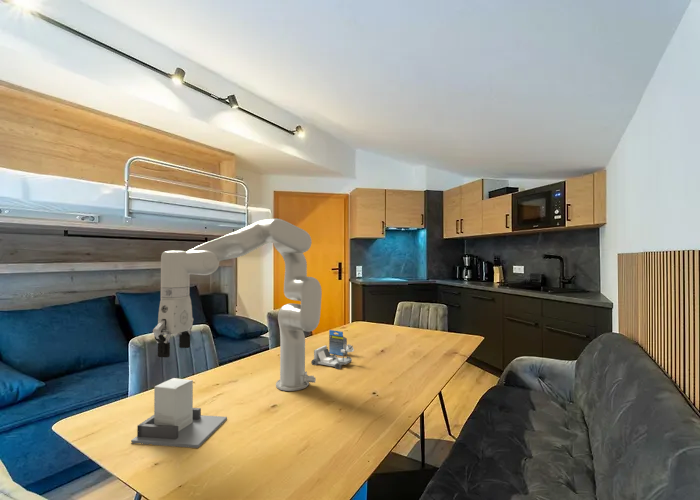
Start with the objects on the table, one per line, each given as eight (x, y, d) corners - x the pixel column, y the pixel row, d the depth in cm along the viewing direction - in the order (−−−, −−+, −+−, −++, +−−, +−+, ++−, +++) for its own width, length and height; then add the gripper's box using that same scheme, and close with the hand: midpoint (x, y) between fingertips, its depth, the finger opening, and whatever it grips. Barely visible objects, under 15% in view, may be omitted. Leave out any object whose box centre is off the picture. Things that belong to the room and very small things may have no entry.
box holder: (226, 419, 106) (227, 407, 106) (197, 448, 90) (198, 433, 90) (169, 415, 108) (169, 403, 108) (131, 443, 92) (131, 428, 93)
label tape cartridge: (347, 354, 177) (347, 330, 177) (343, 356, 174) (343, 331, 174) (333, 351, 182) (333, 328, 182) (328, 353, 179) (328, 329, 179)
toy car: (357, 343, 163) (345, 348, 153) (356, 364, 163) (345, 371, 152) (324, 339, 171) (311, 344, 161) (323, 358, 171) (311, 365, 160)
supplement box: (193, 422, 102) (194, 379, 103) (174, 434, 95) (174, 388, 95) (173, 419, 104) (173, 377, 105) (152, 431, 97) (153, 385, 98)
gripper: (168, 296, 92) (167, 361, 91) (203, 290, 109) (202, 344, 109) (142, 296, 93) (141, 360, 92) (181, 290, 110) (180, 344, 109)
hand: (174, 352), depth 100 cm, fingers open, 9 cm apart
